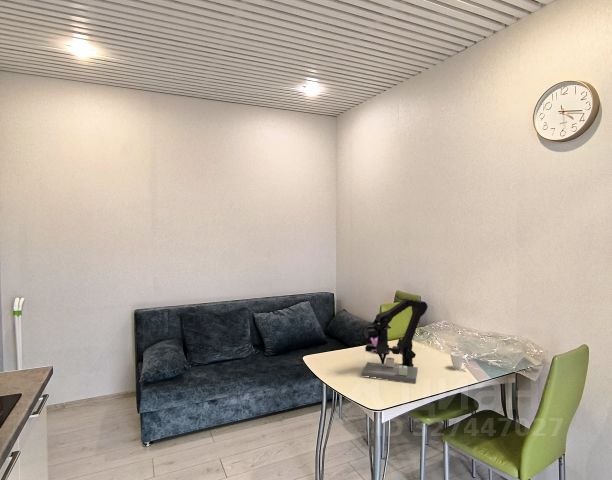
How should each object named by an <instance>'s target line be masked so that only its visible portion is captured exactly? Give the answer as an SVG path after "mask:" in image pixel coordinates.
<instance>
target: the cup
mask: <svg viewBox="0 0 612 480" xmlns="http://www.w3.org/2000/svg"><path fill="white" fill-rule="evenodd" d="M464 356H465V355H464V353H462V352H460V351H453V352H451V353H450V358H451V359H450V361H451V364H452V368H453V369H455V370H458V371H459V370H461V371H462V370H464V369H467V368H468V367H469V361H468V359H467V358H466V357H464ZM463 360H465V361H466V367H464V368H462V366H463V362H464V361H463Z"/></svg>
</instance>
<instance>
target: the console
mask: <svg viewBox="0 0 612 480" xmlns="http://www.w3.org/2000/svg"><path fill="white" fill-rule="evenodd" d="M418 368H419V367H416V366H413V367H409V366H407V376H405V375H399V365H397V364H394V367H388V366H386V363H384V364H382V362H381V363H380V362H379V363H378V362H370V361H366V364H365V366H364V367H363V369H362V372H361V377H362V376H369V377H376V378H382V379H381V380H383V379H388V380H387V381H391V380H395V381H394V382H399V381H403V382H402V383H408V382H413V383H412V384H416V383H417V378H418Z"/></svg>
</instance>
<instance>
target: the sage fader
mask: <svg viewBox="0 0 612 480" xmlns="http://www.w3.org/2000/svg"><path fill="white" fill-rule="evenodd" d="M399 375H405V376H407V366H402V364H400V365H399Z"/></svg>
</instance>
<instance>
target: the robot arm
mask: <svg viewBox="0 0 612 480" xmlns="http://www.w3.org/2000/svg"><path fill="white" fill-rule="evenodd" d="M409 307H411V315H410V319H409V321H408V325H407V328H406V330H405V333H404V335H403V337H402V338H398V341H397V344H396V345H395V346H394V345H392V347H390V345H389V343H388V342H389V335H388V334H389V333H388V331H389V329H392V327H391V325H389V324H390V323H391V322H392V320H393V318H394V317H396V316H397V315H399V314H401V313H402V312H403V311H405V310H406V309H408V308H409ZM427 310H428V304H427V302H425V301H422V300H419V299H415V300H412V299H409V298H404V299H403V300H401V301H400V302H398V303H397V304H395V305H394V306H392V307H391V308H390V309H388V310H385V311H382V312H379V313H377V314H376V315H375V319H374V320H373V322H372V323H371V325H366V326H365V328H364V330H363V335H364V338H365V339H371V338H373V339H375V338H377V346H374V344H372V343H367V344H366V345H365V352H372V351H374V350H376V352H375V354H377V355H378V357H379V359H380V362H381V364H385V362H386V358H387V355H388V356H389V355H390V352H391V354H393V355H401V358H402V360H401V361H402V363H401V366H409V367H415V364H414V363H413V361H414V360H413V359H415V358H416V355H417V354H416V353H415V352H414V351H413V347H414V346H413V339H414V336H415V333H416V330H417V328H418V326H419V322H420V320H421V318H422V317H423V316H424V315H425V314H426V312H427Z"/></svg>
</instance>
